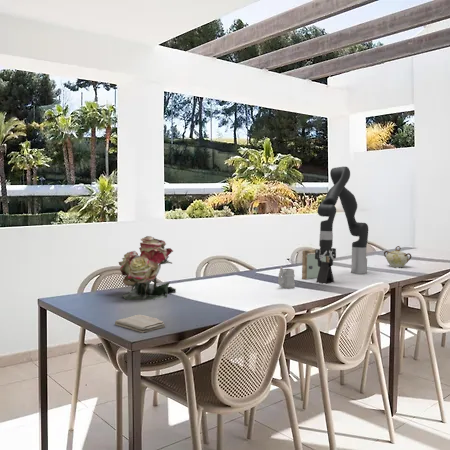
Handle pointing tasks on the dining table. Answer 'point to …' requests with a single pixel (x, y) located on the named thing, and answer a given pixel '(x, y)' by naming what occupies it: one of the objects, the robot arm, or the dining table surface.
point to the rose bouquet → (145, 270)
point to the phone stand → (325, 273)
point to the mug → (286, 278)
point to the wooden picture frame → (304, 262)
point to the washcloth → (140, 323)
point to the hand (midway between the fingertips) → (325, 266)
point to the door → (313, 266)
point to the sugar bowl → (397, 258)
